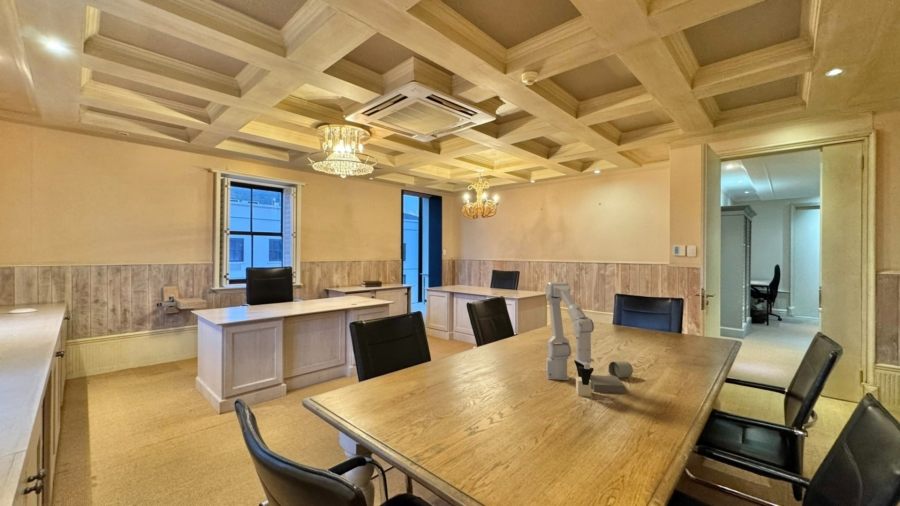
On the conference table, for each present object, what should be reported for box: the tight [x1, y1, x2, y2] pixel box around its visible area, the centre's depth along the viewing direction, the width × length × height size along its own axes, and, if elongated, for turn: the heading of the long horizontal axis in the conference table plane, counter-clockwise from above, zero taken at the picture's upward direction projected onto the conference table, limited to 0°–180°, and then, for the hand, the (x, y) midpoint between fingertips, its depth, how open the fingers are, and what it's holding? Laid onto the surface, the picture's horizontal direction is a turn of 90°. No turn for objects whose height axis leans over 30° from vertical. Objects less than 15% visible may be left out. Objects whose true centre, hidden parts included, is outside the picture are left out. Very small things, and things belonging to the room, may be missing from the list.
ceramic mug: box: [607, 360, 634, 379], centre depth 172 cm, size 11×8×8 cm
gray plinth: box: [590, 374, 626, 394], centre depth 157 cm, size 12×12×3 cm
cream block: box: [575, 376, 592, 397], centre depth 150 cm, size 5×5×6 cm
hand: (583, 381), depth 150 cm, fingers open, 7 cm apart
